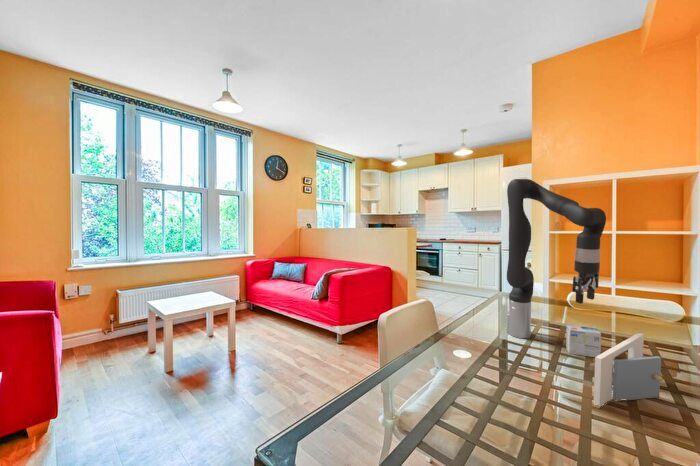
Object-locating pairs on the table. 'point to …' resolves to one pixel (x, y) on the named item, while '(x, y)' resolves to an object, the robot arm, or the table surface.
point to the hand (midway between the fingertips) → (584, 300)
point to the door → (637, 378)
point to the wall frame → (606, 365)
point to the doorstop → (592, 371)
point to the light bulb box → (583, 340)
